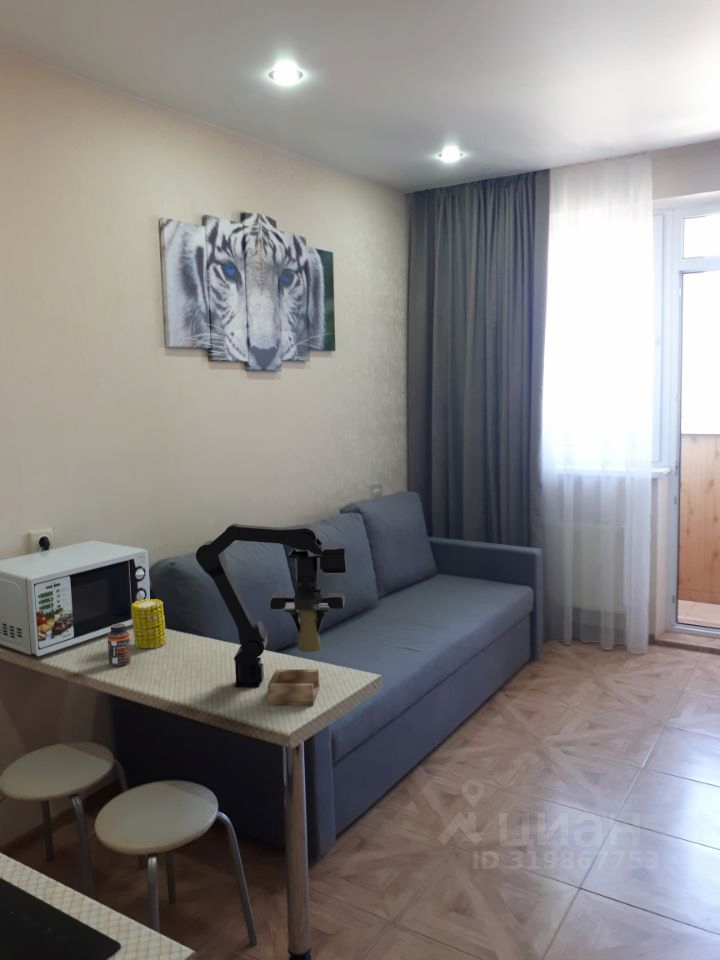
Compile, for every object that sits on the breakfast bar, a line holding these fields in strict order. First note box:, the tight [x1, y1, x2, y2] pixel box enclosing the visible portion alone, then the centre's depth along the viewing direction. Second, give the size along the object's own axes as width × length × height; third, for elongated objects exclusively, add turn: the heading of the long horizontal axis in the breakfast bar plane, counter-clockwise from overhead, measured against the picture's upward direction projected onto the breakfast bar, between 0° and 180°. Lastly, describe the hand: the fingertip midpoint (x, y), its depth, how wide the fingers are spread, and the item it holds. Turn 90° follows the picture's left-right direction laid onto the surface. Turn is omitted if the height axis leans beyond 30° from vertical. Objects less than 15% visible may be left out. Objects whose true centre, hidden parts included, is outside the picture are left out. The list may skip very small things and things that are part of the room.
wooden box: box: [267, 669, 321, 707], centre depth 185 cm, size 11×12×5 cm
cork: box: [297, 606, 322, 653], centre depth 194 cm, size 6×6×11 cm
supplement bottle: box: [107, 623, 132, 667], centre depth 213 cm, size 6×6×11 cm
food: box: [130, 598, 167, 649], centre depth 229 cm, size 15×12×10 cm
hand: (308, 633), depth 194 cm, fingers closed on cork, 4 cm apart
